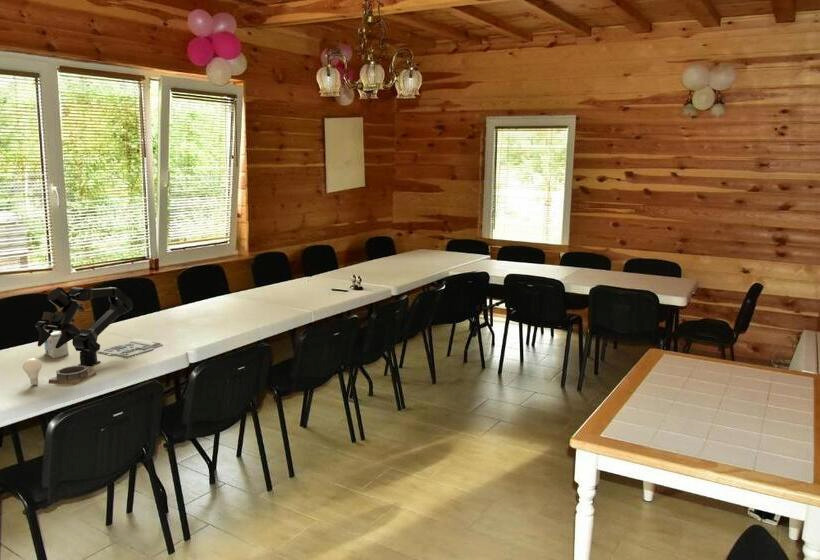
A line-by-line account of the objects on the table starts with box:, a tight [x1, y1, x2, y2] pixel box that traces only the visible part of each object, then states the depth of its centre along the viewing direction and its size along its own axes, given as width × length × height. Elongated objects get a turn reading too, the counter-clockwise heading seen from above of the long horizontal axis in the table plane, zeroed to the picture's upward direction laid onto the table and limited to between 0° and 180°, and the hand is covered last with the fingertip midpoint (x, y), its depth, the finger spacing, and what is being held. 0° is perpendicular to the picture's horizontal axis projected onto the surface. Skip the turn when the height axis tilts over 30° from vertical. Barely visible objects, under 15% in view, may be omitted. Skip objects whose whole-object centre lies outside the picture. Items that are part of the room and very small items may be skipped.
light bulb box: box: [43, 331, 70, 359], centre depth 292 cm, size 11×7×11 cm, turn 47°
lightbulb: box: [22, 357, 43, 386], centre depth 251 cm, size 6×6×11 cm
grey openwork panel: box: [96, 338, 164, 359], centre depth 299 cm, size 23×3×20 cm
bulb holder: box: [48, 364, 97, 385], centre depth 260 cm, size 12×12×4 cm
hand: (47, 347), depth 257 cm, fingers open, 9 cm apart
